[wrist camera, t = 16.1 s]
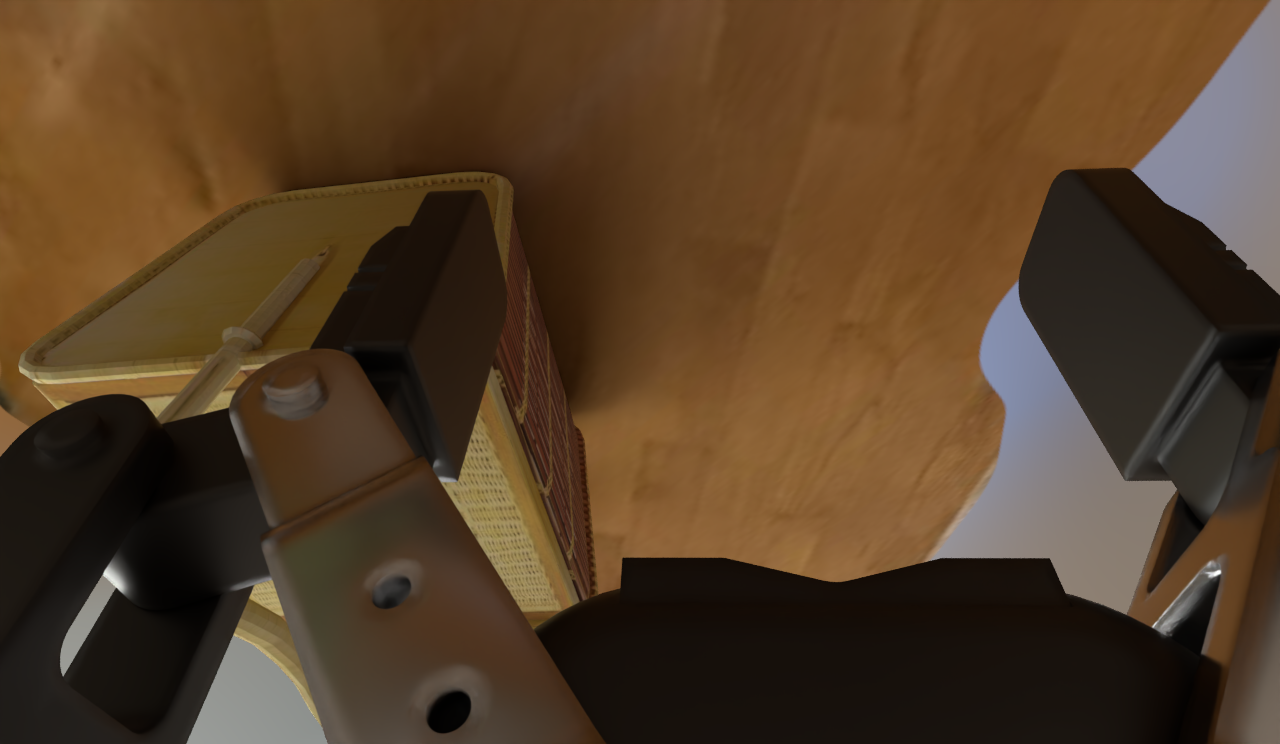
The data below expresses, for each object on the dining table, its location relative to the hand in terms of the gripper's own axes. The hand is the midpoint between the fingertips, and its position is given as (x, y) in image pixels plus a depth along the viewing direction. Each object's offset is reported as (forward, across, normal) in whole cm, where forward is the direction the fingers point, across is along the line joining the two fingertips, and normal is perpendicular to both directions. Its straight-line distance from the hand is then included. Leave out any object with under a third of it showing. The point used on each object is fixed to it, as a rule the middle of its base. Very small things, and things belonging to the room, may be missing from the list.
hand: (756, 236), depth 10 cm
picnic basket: (+36, +22, +29) cm, 51 cm away
